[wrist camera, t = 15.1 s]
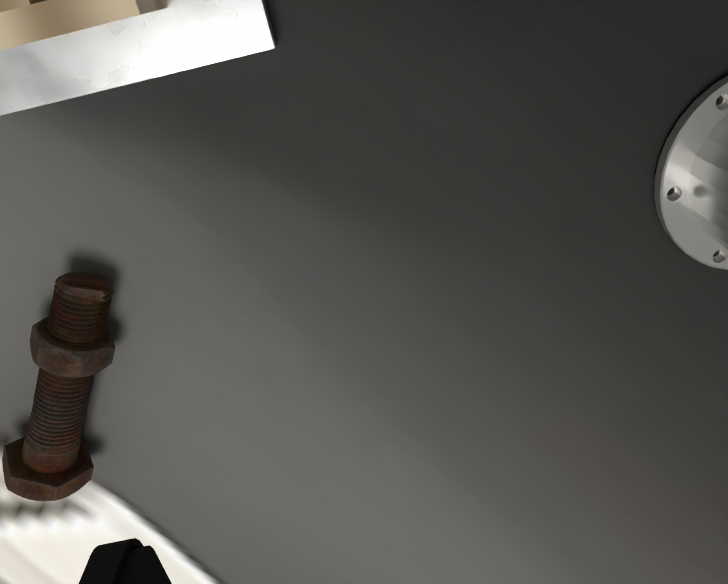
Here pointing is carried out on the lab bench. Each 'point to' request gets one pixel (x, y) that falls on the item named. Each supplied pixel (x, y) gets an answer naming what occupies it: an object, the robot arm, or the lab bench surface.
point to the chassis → (132, 50)
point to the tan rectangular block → (63, 17)
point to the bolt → (62, 391)
